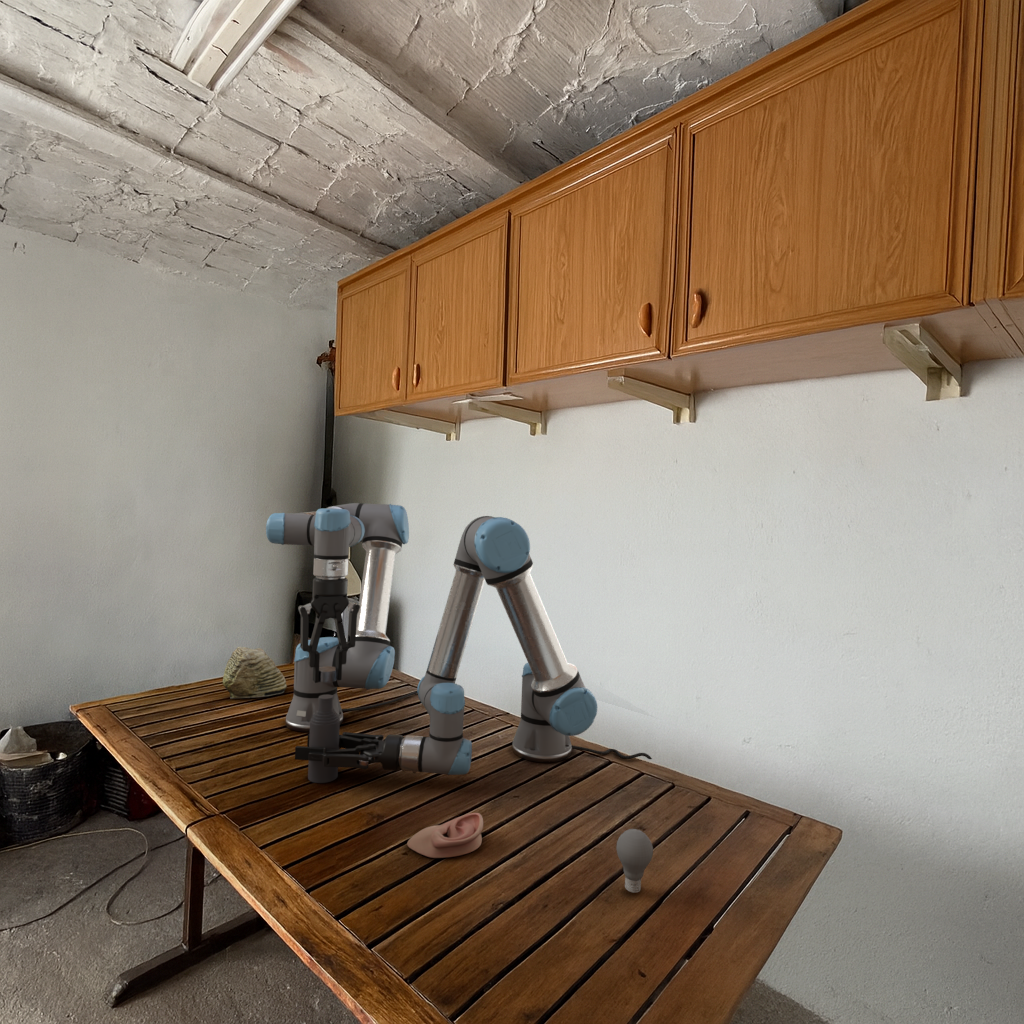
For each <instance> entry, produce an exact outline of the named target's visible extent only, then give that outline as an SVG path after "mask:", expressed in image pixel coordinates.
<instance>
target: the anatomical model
mask: <svg viewBox="0 0 1024 1024" xmlns="http://www.w3.org/2000/svg"><path fill="white" fill-rule="evenodd" d="M483 829H484V819H483V815H482V814H481V813H480V812H471V813H467V814H464V815H461V816H458V817H455V818H453V819H451V820H448V821H446V822H444V823H442V824H437V825H431V826H427V827H425V828H423V829H421V830H419V831H418V832H416V833H415V834H414V835H412V836H411V837H410V838H409V839H408V840H407V843H406V846H407V847H408V848H409V849H411V850H412V851H414V852H416V853H417V854H420V855H423V856H424V857H428V858H430V859H444V858H453V857H459V856H463V855H467V854H469V853H471V852H474V851H476V850H477V849H478V848H480V847H481V845H482V842H483V837H482V831H483Z"/></svg>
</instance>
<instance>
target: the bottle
mask: <svg viewBox="0 0 1024 1024" xmlns="http://www.w3.org/2000/svg"><path fill="white" fill-rule="evenodd" d="M318 699H319V702H318V709H317V711H316V712H315V714H314V715H313V716H312V717H311V720H310V732H309V734H310V736H309V747H319V748H324V747H326V750H335V749H339V735H340V731H341V730H340V729H341V727H340V725H341V724H340V718H339V716H338V714H337V713H336V711H334V709H333V699H334V696H332V695H321V696H319V698H318ZM338 777H339V767H324V766H323V761H310V760H308V765H307V780H308V781H310V782H311V783H316V784H327V783H330V782H333V781H335V780H336V779H337V778H338Z"/></svg>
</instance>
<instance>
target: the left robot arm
mask: <svg viewBox="0 0 1024 1024" xmlns="http://www.w3.org/2000/svg"><path fill="white" fill-rule="evenodd" d="M265 532H266V533H265V535H266V538H267V541H268V542H269V543H271V544H276V545H282V546H284V545H288V546H290V545H291V546H292V545H293V546H311V547H312V546H314V547H313V572H312V574H313V576H314V578H313V579H312V596H311V599H310V601H309V603H306V604H304V605H303V604H302V605H301V604H300V605H299V606H298V607H297V610H298V612H299V615H300V641H299V642H300V643H298V644H297V645H296V648H295V655H294V659H293V662H294V672H293V695H292V696H293V697H292V699H291V702H290V704H289V708H288V711H287V713H286V715H285V726H286V728H287V729H289V730H291V731H294V732H295V731H296V732H301V733H310V720H311V717H312V716H313V715H314V714H315V712H316V711H317V709H318V702H319V699H318V698H319V696H321V695H332V696H334V699H333V709H334V711H336V713H337V714H338V716H339V718H340V725H342V723H343V722H344V713H343V712H356V711H361V710H362V711H363V710H368V709H373V708H377V707H381V706H385V705H388V704H392V703H394V702H397V701H401V700H403V699H405V698H408V697H410V696H413V695H416V694H418V692H417V690H415V691H413V692H409V693H406V694H405V695H402V696H399V697H397V698H393V699H391V700H387V701H384V702H380V703H376V704H371V705H367V706H366V705H365V706H361V707H360V706H359V707H351V708H350V707H349V708H342V706H341V702H340V699H339V695H338V688H346V689H347V688H348V689H364V690H365V689H366V690H381V689H383V688H384V687H385V686H386V685H387V684H388V683H389V681H390V678H391V675H392V672H393V669H394V664H395V657H396V656H395V655H396V650H395V647H393V646H391V640H390V638H389V637H388V636H387V634H386V633H387V628H388V627H387V626H388V618H389V610H390V603H391V602H390V601H391V594H392V587H393V586H392V585H393V579H394V571H395V564H396V556H397V555H398V554H399V553H400V552H401V551H402V549H403V545H407V544H408V542H409V540H410V525H409V517H408V513H407V510H406V508H405V507H404V506H403V505H400V504H392V503H389V504H388V503H387V504H386V503H361V502H351V503H345V504H344V503H343V504H338V505H333V506H332V505H331V506H328V507H326V508H323V507H322V508H318V509H317V510H316V511H308V512H307V511H305V512H293V513H290V512H289V513H288V512H286V513H285V512H274V513H271V514H270V515H269V517H268V518H267V521H266V525H265ZM361 542H362V543H361ZM359 543H361V547H362V548H363V549H364V550H365V558H364V566H363V571H362V572H363V573H362V580H361V587H360V592H359V593H360V594H359V601H358V603H357V602H351V601H350V600H349V597H348V588H349V587H348V586H349V585H348V582H349V580H348V578H347V576H348V575H349V553H350V548H352V547H354V546H355V545H357V544H359ZM311 609H312V610H313V612H314V613H315V614H316V615H315V621H314V626H313V630H312V633H311V638H310V639H309V626H310V625H309V621H310V620H309V615H310V614H311ZM346 609H347V611H348V624H347V626H348V627H347V638H346V633H345V632H346V631H345V628H344V627H345V626H344V623H343V622H344V619H343V613H344V612H345V610H346ZM328 619H329V620H330V619H333V621H334V626H335V629H336V637H334V636H325V637H321V635H322V631H323V628H324V624H325V621H326V620H328ZM325 666H332V667H336V668H337V671H338V675H337V680H336V681H334V682H328V683H324V682H319V668H320V667H325Z"/></svg>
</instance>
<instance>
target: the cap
mask: <svg viewBox="0 0 1024 1024" xmlns="http://www.w3.org/2000/svg"><path fill="white" fill-rule="evenodd" d="M337 675H338V671H337V668H336V667H332V666H325V667H320V668H319V682H324V683H328V682H334V681H336V680H337Z"/></svg>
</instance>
